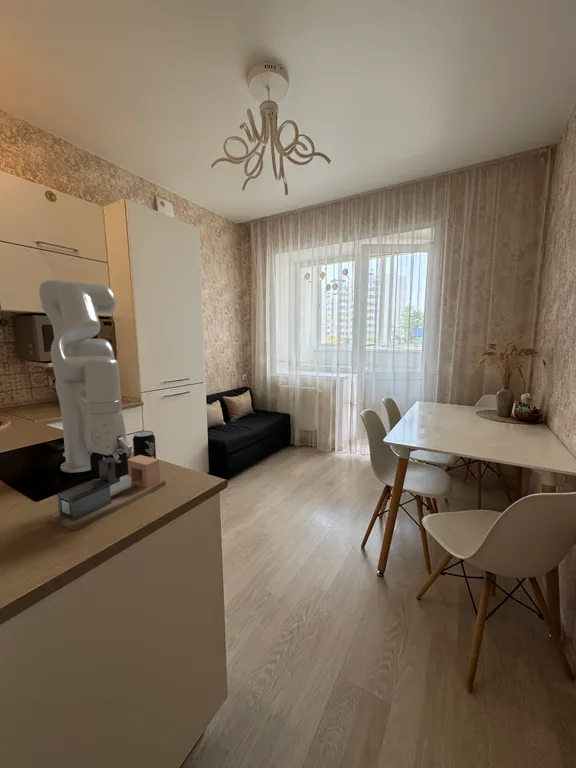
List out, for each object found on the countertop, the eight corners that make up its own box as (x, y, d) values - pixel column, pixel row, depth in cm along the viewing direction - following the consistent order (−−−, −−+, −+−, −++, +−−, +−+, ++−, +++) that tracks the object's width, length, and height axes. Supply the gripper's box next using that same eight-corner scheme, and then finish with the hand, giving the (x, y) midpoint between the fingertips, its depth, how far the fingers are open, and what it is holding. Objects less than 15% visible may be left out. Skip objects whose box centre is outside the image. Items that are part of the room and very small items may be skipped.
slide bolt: (61, 511, 74) (58, 474, 73) (123, 483, 89) (121, 452, 87) (70, 515, 73) (67, 478, 72) (132, 486, 87) (130, 455, 86)
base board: (50, 519, 75) (49, 514, 75) (141, 478, 98) (141, 474, 98) (75, 531, 71) (75, 526, 71) (165, 485, 93) (165, 481, 93)
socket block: (128, 482, 92) (126, 459, 91) (140, 476, 96) (139, 454, 95) (147, 488, 89) (146, 464, 88) (160, 481, 93) (158, 459, 92)
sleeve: (59, 515, 75) (57, 493, 74) (96, 498, 83) (95, 478, 82) (74, 521, 72) (72, 499, 72) (111, 503, 80) (109, 483, 80)
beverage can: (141, 474, 100) (139, 437, 99) (130, 469, 104) (128, 433, 103) (160, 467, 106) (158, 432, 104) (149, 463, 109) (148, 429, 108)
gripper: (68, 406, 80) (74, 471, 83) (113, 414, 73) (118, 485, 75) (97, 401, 87) (102, 461, 89) (141, 408, 80) (145, 473, 82)
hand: (109, 472), depth 82 cm, fingers open, 9 cm apart
